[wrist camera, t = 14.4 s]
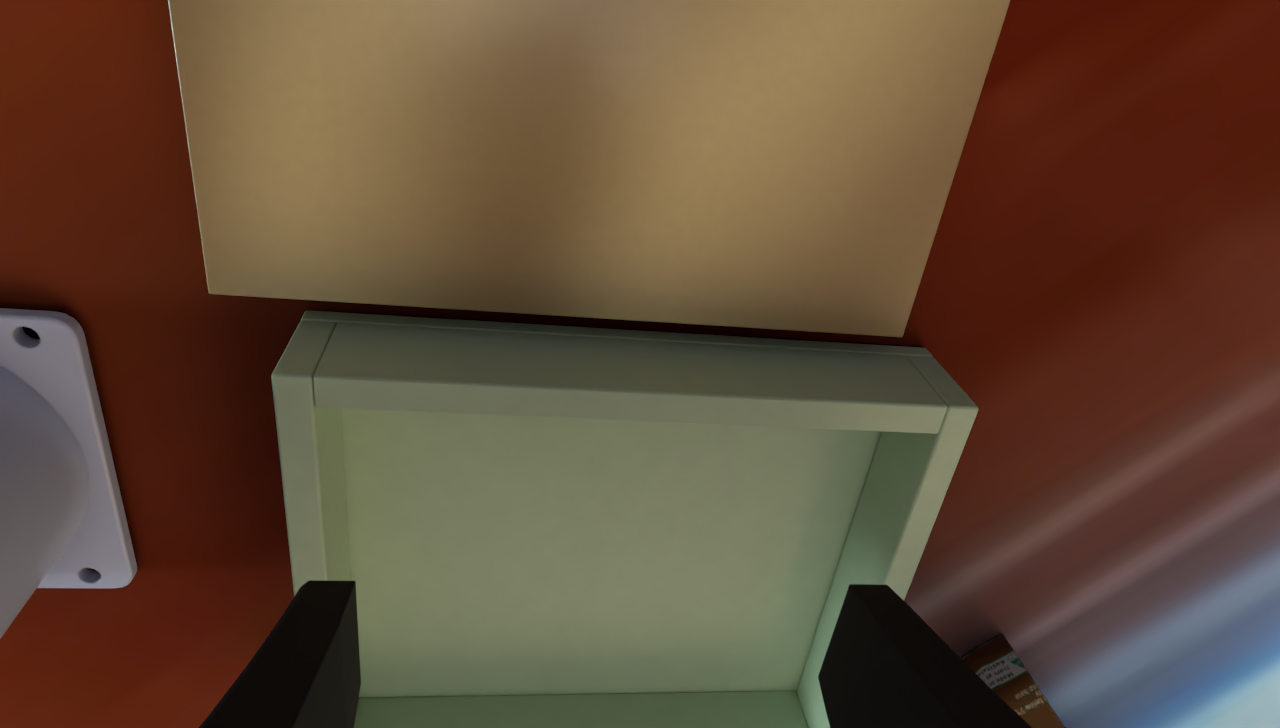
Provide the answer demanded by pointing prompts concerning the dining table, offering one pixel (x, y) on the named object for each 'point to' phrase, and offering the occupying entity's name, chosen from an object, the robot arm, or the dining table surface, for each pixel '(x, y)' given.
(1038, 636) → the dining table surface
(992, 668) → the food container
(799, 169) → the board
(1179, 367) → the dining table surface
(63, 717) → the dining table surface
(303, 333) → the tray
